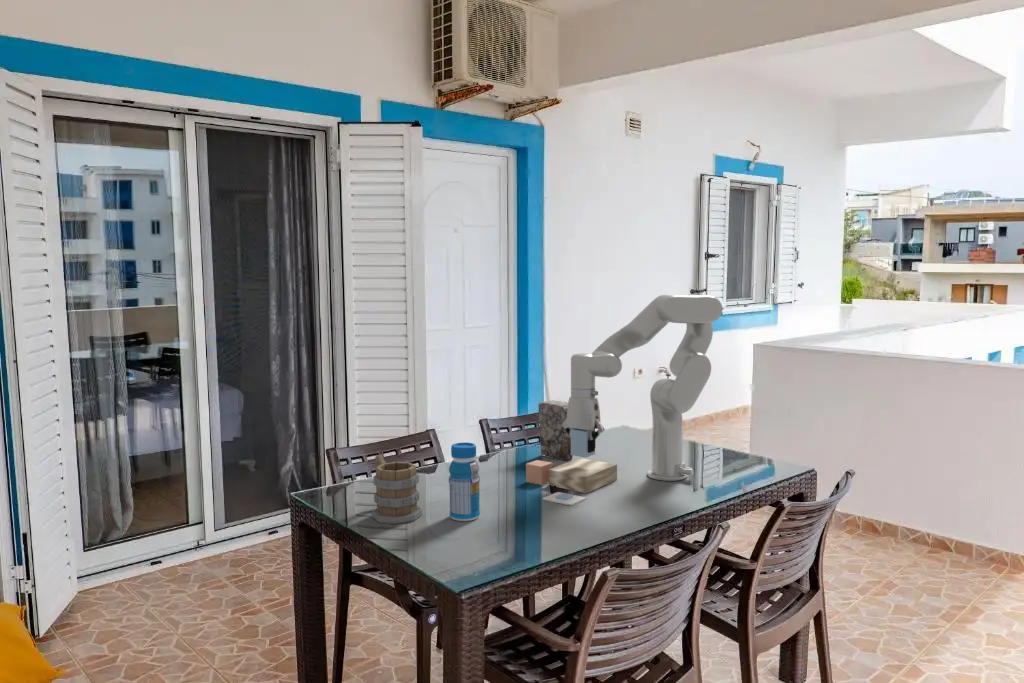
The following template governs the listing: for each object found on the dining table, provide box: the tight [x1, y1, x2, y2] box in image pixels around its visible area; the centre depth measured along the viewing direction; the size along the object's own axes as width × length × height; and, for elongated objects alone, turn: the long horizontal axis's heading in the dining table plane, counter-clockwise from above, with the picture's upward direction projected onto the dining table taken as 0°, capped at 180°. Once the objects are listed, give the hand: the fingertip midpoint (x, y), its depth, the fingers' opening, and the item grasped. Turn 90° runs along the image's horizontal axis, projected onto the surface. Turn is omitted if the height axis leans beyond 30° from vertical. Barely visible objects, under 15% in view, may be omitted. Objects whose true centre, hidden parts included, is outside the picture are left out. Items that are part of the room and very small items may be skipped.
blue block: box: [571, 429, 596, 459], centre depth 235 cm, size 6×6×8 cm
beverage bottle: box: [448, 442, 481, 522], centre depth 203 cm, size 8×8×20 cm
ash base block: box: [548, 457, 618, 494], centre depth 236 cm, size 14×18×5 cm
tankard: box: [371, 453, 423, 525], centre depth 208 cm, size 20×13×15 cm, turn 30°
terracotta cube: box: [525, 459, 553, 486], centre depth 238 cm, size 6×6×6 cm
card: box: [541, 491, 587, 507], centre depth 219 cm, size 10×8×1 cm
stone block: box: [538, 399, 573, 462], centre depth 268 cm, size 13×7×20 cm, turn 49°
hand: (582, 449), depth 235 cm, fingers closed on blue block, 5 cm apart
